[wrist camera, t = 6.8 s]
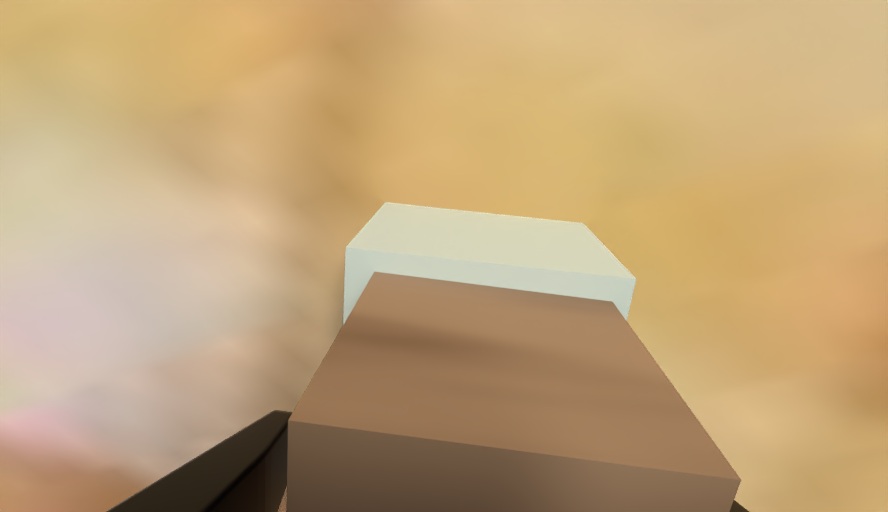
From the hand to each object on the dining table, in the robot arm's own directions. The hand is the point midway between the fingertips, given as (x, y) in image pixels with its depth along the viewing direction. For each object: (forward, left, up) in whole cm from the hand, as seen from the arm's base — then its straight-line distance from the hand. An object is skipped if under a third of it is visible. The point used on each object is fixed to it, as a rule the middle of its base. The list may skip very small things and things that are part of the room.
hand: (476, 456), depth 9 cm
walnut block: (0, 0, -2) cm, 2 cm away
